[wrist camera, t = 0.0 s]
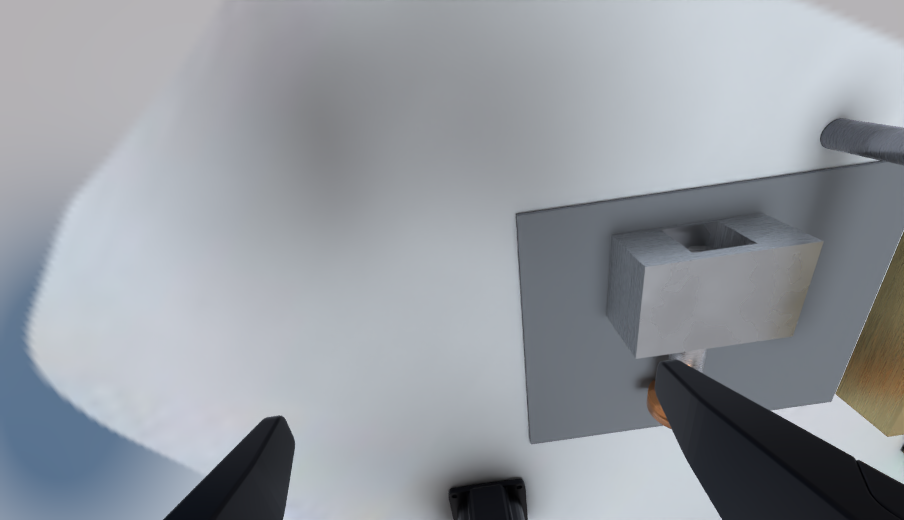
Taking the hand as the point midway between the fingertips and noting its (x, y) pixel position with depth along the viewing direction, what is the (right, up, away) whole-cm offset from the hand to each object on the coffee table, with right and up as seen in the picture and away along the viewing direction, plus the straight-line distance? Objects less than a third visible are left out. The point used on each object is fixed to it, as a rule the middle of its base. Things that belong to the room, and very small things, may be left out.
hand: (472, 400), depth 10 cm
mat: (+16, -1, +18) cm, 24 cm away
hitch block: (+14, +3, +16) cm, 21 cm away
